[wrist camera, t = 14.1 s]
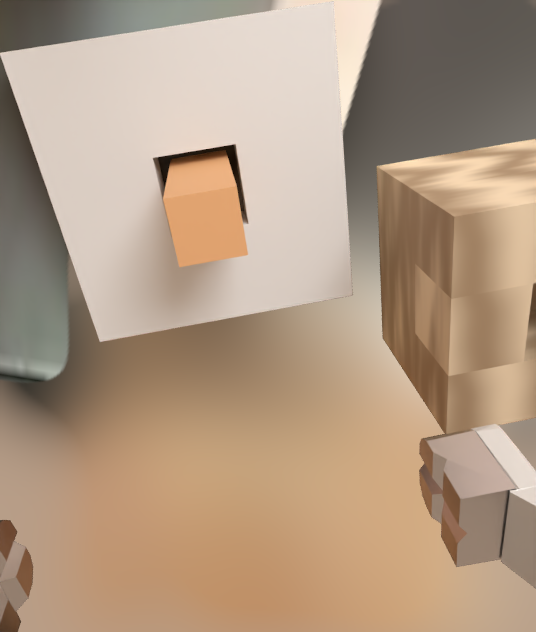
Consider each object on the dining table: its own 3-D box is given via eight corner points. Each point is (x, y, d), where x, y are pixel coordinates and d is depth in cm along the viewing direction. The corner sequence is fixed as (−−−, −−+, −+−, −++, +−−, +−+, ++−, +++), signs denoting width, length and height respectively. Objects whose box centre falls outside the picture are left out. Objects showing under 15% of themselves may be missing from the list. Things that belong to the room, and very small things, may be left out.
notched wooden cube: (570, 133, 36) (725, 168, 25) (545, 307, 43) (661, 392, 32) (376, 166, 35) (454, 216, 25) (382, 338, 42) (446, 435, 31)
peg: (225, 149, 34) (236, 186, 25) (234, 203, 35) (248, 254, 27) (170, 158, 33) (163, 198, 25) (182, 212, 35) (179, 267, 26)
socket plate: (321, 5, 30) (333, 1, 28) (342, 278, 39) (353, 295, 36) (16, 52, 30) (-1, 53, 27) (106, 321, 38) (100, 341, 36)
